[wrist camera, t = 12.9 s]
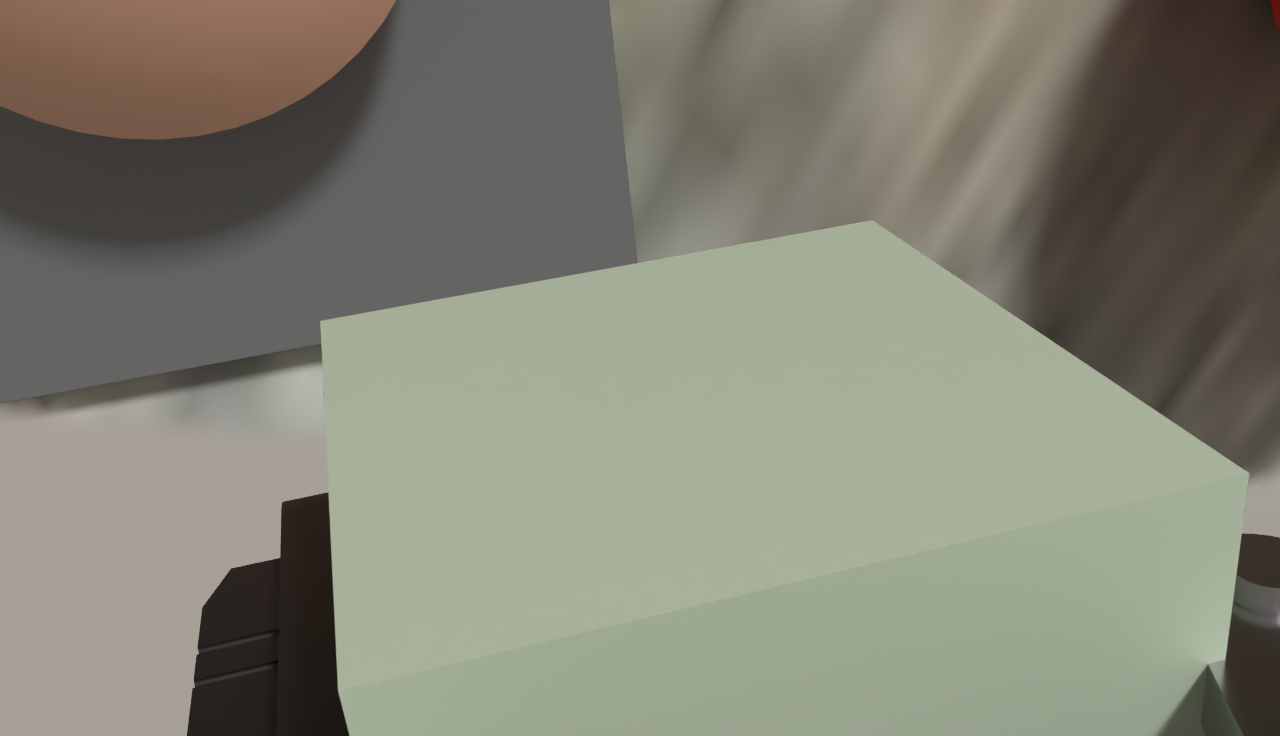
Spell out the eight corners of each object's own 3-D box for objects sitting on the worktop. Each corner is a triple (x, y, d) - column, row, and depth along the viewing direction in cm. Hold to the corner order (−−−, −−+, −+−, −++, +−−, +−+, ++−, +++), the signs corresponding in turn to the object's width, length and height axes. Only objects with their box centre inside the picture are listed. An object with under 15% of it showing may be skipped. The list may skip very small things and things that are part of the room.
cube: (319, 320, 10) (338, 690, 6) (871, 219, 11) (1250, 472, 7) (422, 774, 12) (493, 1299, 8) (880, 657, 13) (1171, 1069, 9)
